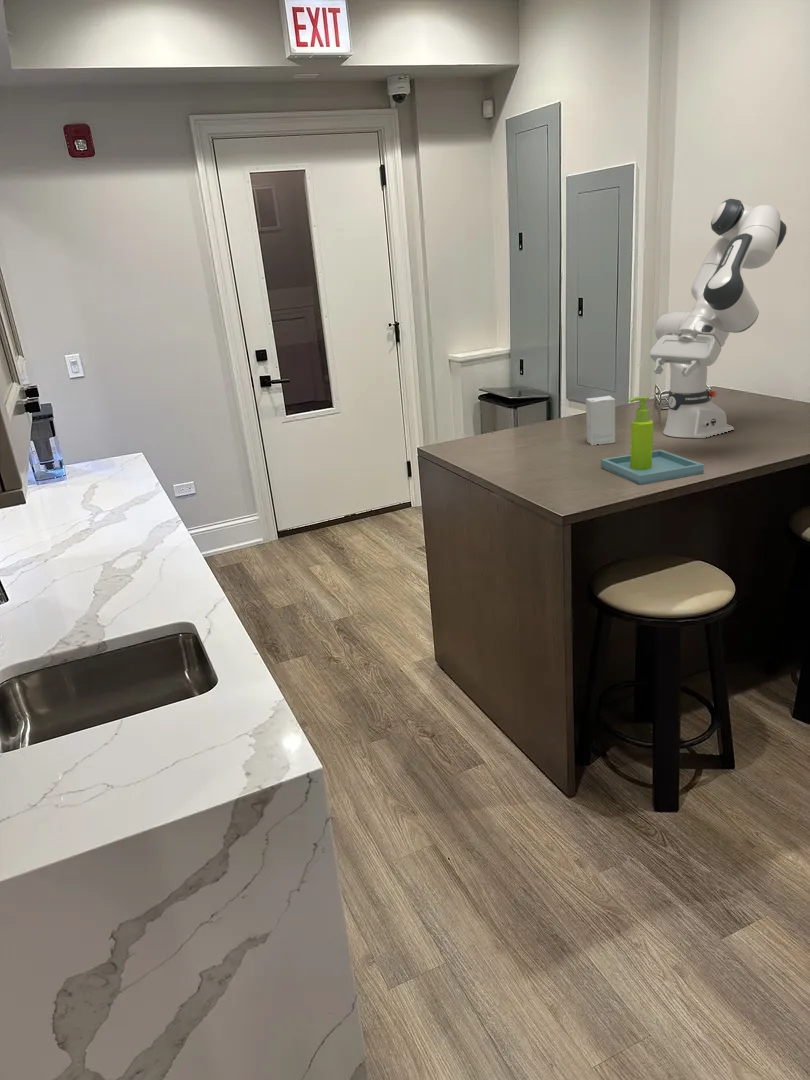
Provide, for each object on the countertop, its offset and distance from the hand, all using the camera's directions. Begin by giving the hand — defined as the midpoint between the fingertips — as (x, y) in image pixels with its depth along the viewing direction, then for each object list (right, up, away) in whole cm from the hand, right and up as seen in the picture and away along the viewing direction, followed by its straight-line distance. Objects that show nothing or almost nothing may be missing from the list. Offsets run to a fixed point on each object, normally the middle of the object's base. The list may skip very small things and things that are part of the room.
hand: (670, 374), depth 208 cm
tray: (-5, -27, +2) cm, 28 cm away
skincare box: (-10, -15, +35) cm, 40 cm away
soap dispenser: (-8, -26, +3) cm, 28 cm away
